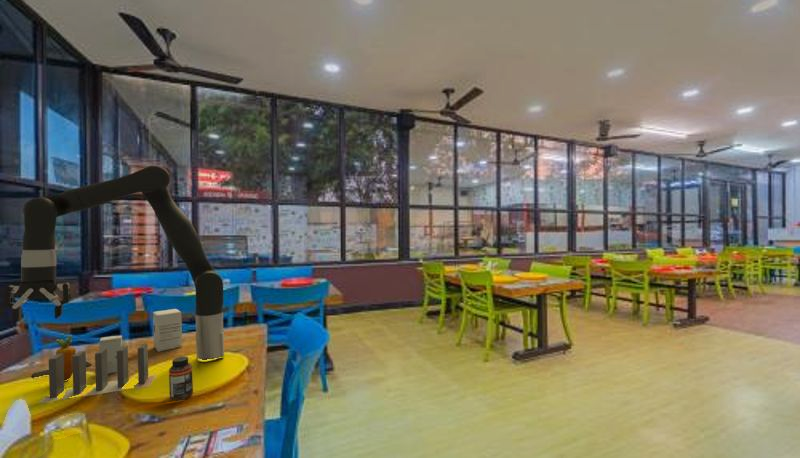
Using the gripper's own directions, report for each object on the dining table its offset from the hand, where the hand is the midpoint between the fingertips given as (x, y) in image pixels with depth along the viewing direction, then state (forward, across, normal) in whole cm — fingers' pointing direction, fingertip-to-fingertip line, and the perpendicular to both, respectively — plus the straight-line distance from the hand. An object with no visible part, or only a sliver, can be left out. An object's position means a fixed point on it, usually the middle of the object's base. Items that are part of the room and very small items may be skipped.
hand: (38, 319), depth 111 cm
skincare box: (+23, +16, +14) cm, 31 cm away
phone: (+24, 0, +26) cm, 35 cm away
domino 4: (+22, +26, -3) cm, 35 cm away
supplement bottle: (+22, +37, -22) cm, 49 cm away
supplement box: (+23, +31, +36) cm, 53 cm away
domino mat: (+23, +16, -2) cm, 28 cm away
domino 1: (+23, +10, -2) cm, 25 cm away
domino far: (+23, +5, -1) cm, 23 cm away
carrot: (+24, +4, +11) cm, 26 cm away
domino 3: (+22, +21, -3) cm, 31 cm away
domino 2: (+22, +16, -2) cm, 27 cm away
